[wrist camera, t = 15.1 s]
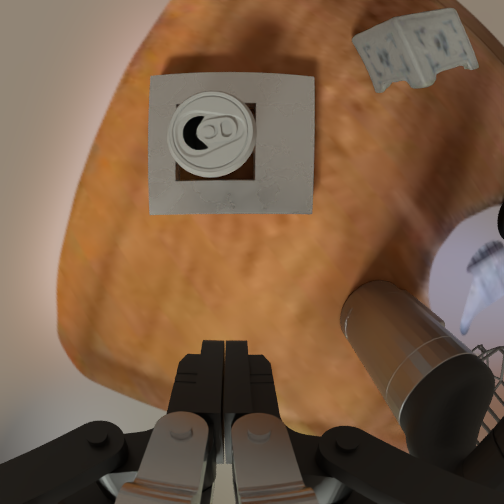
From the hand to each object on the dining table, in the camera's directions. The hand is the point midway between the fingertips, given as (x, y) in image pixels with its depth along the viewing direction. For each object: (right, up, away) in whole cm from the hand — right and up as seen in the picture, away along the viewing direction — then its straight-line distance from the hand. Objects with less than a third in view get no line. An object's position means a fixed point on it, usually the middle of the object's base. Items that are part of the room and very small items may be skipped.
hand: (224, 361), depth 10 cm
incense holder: (+18, +27, +19) cm, 37 cm away
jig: (-1, +15, +21) cm, 25 cm away
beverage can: (-3, +15, +21) cm, 26 cm away
